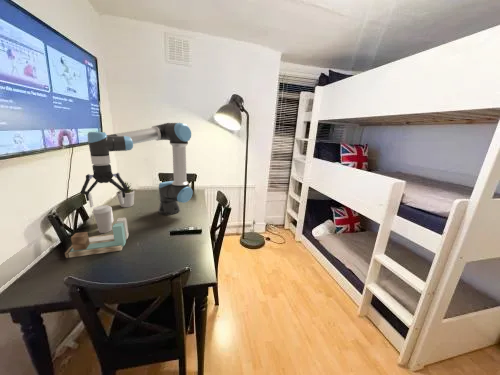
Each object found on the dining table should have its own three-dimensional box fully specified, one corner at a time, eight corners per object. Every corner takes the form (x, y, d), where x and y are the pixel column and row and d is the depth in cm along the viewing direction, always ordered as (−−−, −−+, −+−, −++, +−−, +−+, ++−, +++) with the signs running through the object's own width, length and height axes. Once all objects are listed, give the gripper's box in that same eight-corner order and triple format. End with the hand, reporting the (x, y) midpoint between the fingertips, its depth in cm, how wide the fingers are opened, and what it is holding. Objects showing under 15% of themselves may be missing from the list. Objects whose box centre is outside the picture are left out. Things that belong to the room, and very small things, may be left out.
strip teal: (126, 241, 115) (123, 222, 112) (124, 246, 110) (121, 226, 107) (75, 248, 107) (70, 227, 104) (70, 253, 103) (65, 232, 100)
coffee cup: (94, 235, 122) (90, 211, 118) (97, 228, 131) (93, 206, 127) (114, 232, 127) (110, 209, 123) (115, 226, 135) (111, 203, 131)
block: (89, 244, 109) (87, 231, 107) (86, 249, 105) (83, 236, 103) (78, 245, 108) (75, 233, 106) (73, 250, 103) (70, 237, 101)
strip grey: (128, 235, 121) (126, 217, 118) (127, 239, 117) (124, 220, 114) (80, 240, 114) (76, 221, 111) (77, 245, 110) (72, 225, 107)
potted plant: (140, 204, 173) (137, 181, 168) (123, 209, 162) (119, 184, 157) (132, 201, 180) (129, 178, 174) (115, 206, 168) (111, 181, 163)
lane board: (127, 235, 123) (127, 231, 122) (121, 250, 108) (120, 245, 108) (79, 241, 116) (78, 237, 115) (65, 258, 101) (64, 253, 100)
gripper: (130, 162, 112) (135, 200, 118) (72, 164, 102) (80, 205, 107) (129, 164, 106) (134, 204, 111) (66, 166, 95) (75, 210, 101)
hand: (107, 205), depth 109 cm, fingers open, 13 cm apart
